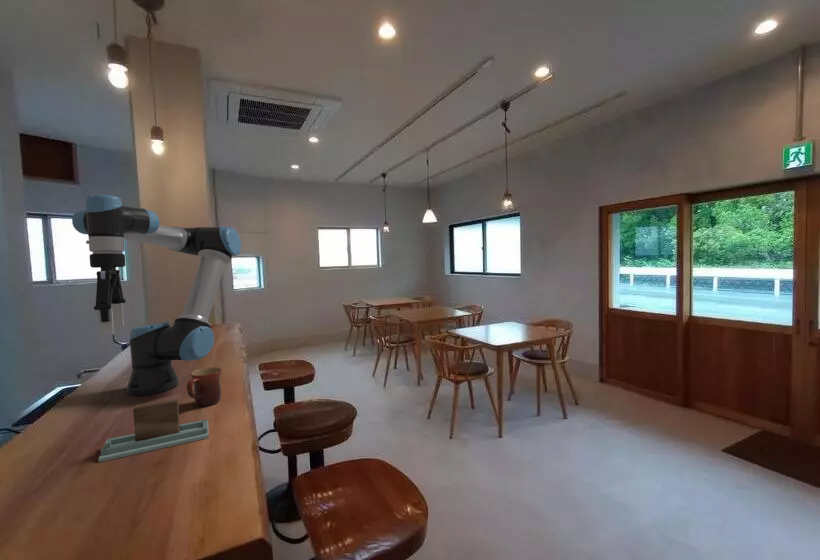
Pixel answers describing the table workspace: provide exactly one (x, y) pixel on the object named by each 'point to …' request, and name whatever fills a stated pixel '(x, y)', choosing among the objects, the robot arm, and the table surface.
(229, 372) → the table surface
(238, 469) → the table surface
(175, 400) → the slider block
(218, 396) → the mug
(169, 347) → the robot arm
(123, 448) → the track base
